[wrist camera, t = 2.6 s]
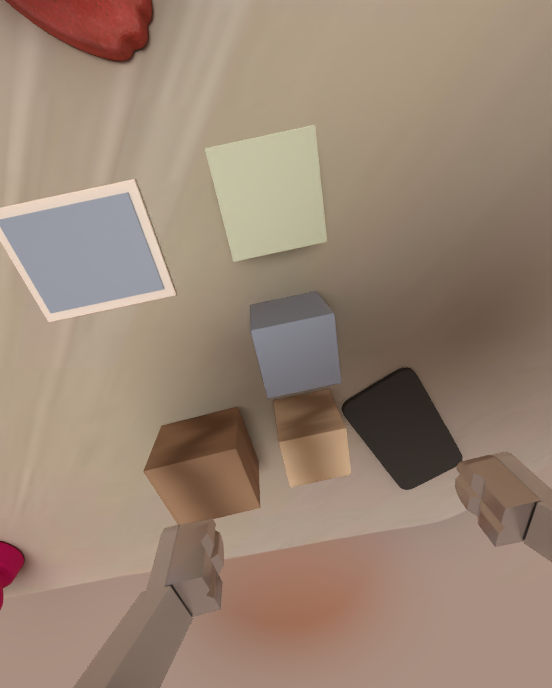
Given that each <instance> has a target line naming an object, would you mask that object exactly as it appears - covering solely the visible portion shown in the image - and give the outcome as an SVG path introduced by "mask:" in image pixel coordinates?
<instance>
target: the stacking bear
mask: <svg viewBox="0 0 552 688" xmlns="http://www.w3.org/2000/svg"><path fill="white" fill-rule="evenodd" d="M5 1H6V2H8V3H9V4H10V5H11V6H12V7H13V8H15V9H16V10H17V11H18V12H20V13H21V14H22V15H24V16H25V17H26V18H28V19H29V20H30V21H31V22H33V23H34V24H36V25H37V26H39V27H40V28H42V29H43V30H45V31H46V32H48V33H49V34H51V35H53V36H55V37H56V38H58V39H60V40H62V41H63V42H65V43H67V44H69V45H71V46H73V47H75V48H78V49H80V50H83V51H85V52H88V53H90V54H93V55H96V56H99V57H103V58H107V59H112V60H119V61H121V60H127V59H129V58H130V57H131V56H132V54H133V52H134V51H135V50H137V49H140V48H142V47H143V46H144V45H145V44H146V42H147V39H148V24H149V22H150V21H151V16H152V2H151V0H5Z"/></svg>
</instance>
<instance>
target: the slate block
mask: <svg viewBox="0 0 552 688" xmlns="http://www.w3.org/2000/svg"><path fill="white" fill-rule="evenodd" d="M250 325H251V334H252V338H253V342H254V346H255V350H256V354H257V358H258V362H259V366H260V370H261V374H262V378H263V382H264V386H265V390H266V394H267V398H272V397H277V396H282V395H287V394H291V393H296V392H301V391H306V390H311V389H315V388H320V387H325V386H330V385H334V384H339V383H341V374H340V364H339V354H338V344H337V335H336V325H335V315H334V312H333V311H332V310H331V309H330V307H329V306H328V305H327V304H326V302H325V301H324V300H323V299H322V298H321V296H320V295H319V294H318V293H317V292H316V291H314V292H309V293H305V294H300V295H295V296H290V297H286V298H281V299H276V300H271V301H267V302H262V303H257V304H252V305H250Z"/></svg>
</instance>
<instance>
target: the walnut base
mask: <svg viewBox="0 0 552 688" xmlns="http://www.w3.org/2000/svg"><path fill="white" fill-rule="evenodd" d="M143 472H144V473H145V475H146V476H147V478H148V479H149V481H150V482H151V484H152V485H153V487H154V488H155V490H156V492H157V493H158V495H159V496H160V498H161V499H162V501H163V502H164V504H165V505H166V507H167V508H168V510H169V511H170V513H171V515H172V516H173V518H174V519H175V521H176V522H177V524H178V525H180V524H186V523H191V522H196V521H200V520H205V519H210V518H213V519H216V518H220V517H224V516H228V515H232V514H236V513H240V512H245V511H249V510H253V509H257V508H260V489H259V465H258V459H257V456H256V454H255V451H254V448H253V446H252V443H251V440H250V438H249V435H248V432H247V430H246V427H245V424H244V422H243V419H242V416H241V414H240V411H239V408H238V407H235V408H231V409H227V410H223V411H219V412H215V413H211V414H207V415H203V416H199V417H195V418H191V419H187V420H183V421H179V422H175V423H171V424H167V425H163V426H161V429H160V431H159V434H158V436H157V439H156V441H155V444H154V446H153V449H152V451H151V454H150V456H149V459H148V461H147V464H146V466H145V469H144V471H143Z"/></svg>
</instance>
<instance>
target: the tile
mask: <svg viewBox="0 0 552 688" xmlns="http://www.w3.org/2000/svg"><path fill="white" fill-rule="evenodd" d="M0 241H1V243H2V245H3V246H4V248H5V250H6V251H7V253H8V255H9V256H10V258H11V260H12V261H13V263H14V265H15V267H16V268H17V270H18V272H19V273H20V275H21V277H22V278H23V280H24V282H25V283H26V285H27V287H28V288H29V290H30V292H31V293H32V295H33V297H34V298H35V300H36V302H37V303H38V305H39V307H40V308H41V310H42V312H43V314H44V315H45V317H46V319H47V320H48V322H52V321H57V320H62V319H66V318H71V317H76V316H80V315H85V314H90V313H95V312H99V311H104V310H109V309H113V308H118V307H123V306H128V305H132V304H137V303H142V302H146V301H151V300H156V299H160V298H165V297H170V296H175V295H177V294H176V291H175V288H174V285H173V283H172V280H171V277H170V274H169V272H168V269H167V266H166V263H165V260H164V258H163V255H162V252H161V249H160V246H159V244H158V241H157V238H156V235H155V232H154V230H153V227H152V224H151V221H150V219H149V216H148V213H147V210H146V207H145V205H144V202H143V199H142V196H141V193H140V191H139V188H138V185H137V182H136V179H132V180H128V181H123V182H118V183H114V184H109V185H104V186H100V187H95V188H90V189H86V190H81V191H76V192H71V193H67V194H62V195H57V196H53V197H48V198H43V199H39V200H34V201H29V202H25V203H20V204H15V205H11V206H6V207H1V208H0Z"/></svg>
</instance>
